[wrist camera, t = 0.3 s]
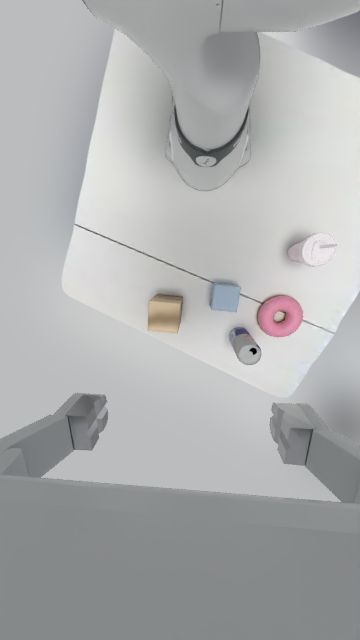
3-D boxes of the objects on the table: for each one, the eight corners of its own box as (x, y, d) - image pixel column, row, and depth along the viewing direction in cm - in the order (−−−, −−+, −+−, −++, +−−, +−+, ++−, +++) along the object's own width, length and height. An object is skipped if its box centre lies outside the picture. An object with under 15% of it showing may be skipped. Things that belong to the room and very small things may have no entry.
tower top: (153, 297, 50) (149, 300, 45) (181, 300, 50) (180, 303, 45) (152, 324, 52) (147, 330, 47) (179, 327, 52) (177, 333, 47)
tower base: (157, 294, 55) (153, 297, 50) (182, 296, 55) (181, 299, 50) (155, 319, 57) (152, 324, 52) (180, 321, 56) (179, 326, 52)
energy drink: (252, 336, 56) (267, 355, 44) (238, 349, 57) (248, 370, 46) (239, 323, 55) (250, 338, 44) (224, 336, 56) (232, 355, 45)
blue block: (212, 282, 53) (214, 284, 47) (236, 284, 53) (240, 287, 47) (209, 304, 55) (211, 309, 49) (232, 307, 54) (236, 312, 48)
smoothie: (315, 247, 49) (360, 240, 35) (297, 271, 50) (334, 273, 37) (293, 233, 48) (330, 221, 35) (276, 257, 50) (305, 255, 37)
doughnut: (306, 302, 52) (315, 305, 48) (286, 339, 56) (293, 345, 52) (266, 288, 52) (272, 290, 48) (249, 326, 55) (253, 331, 51)
